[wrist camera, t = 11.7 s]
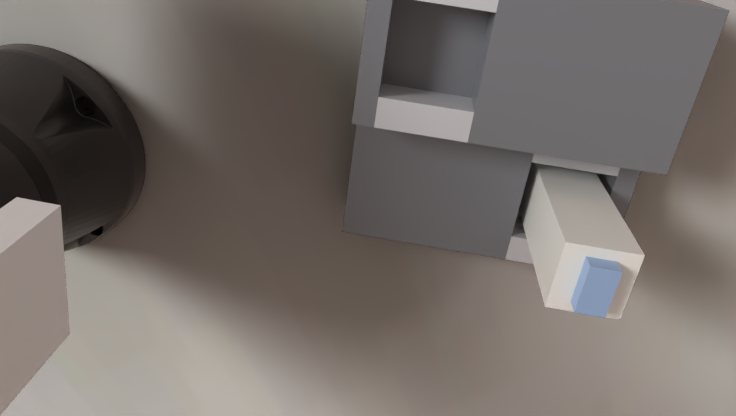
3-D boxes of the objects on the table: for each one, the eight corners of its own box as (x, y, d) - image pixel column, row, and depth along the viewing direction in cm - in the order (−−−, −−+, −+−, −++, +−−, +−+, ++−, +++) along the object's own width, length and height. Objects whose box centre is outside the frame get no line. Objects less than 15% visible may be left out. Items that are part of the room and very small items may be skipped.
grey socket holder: (348, 209, 46) (334, 257, 39) (384, -52, 38) (373, -45, 31) (591, 250, 45) (616, 305, 39) (680, -7, 37) (729, 10, 31)
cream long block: (518, 208, 44) (548, 317, 32) (533, 156, 42) (569, 252, 30) (575, 218, 43) (624, 331, 32) (591, 166, 42) (651, 265, 30)
